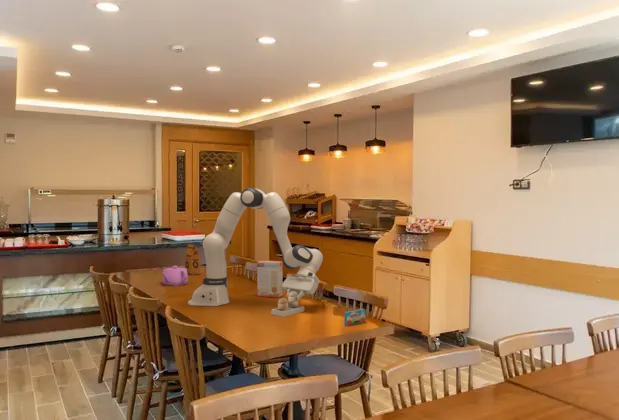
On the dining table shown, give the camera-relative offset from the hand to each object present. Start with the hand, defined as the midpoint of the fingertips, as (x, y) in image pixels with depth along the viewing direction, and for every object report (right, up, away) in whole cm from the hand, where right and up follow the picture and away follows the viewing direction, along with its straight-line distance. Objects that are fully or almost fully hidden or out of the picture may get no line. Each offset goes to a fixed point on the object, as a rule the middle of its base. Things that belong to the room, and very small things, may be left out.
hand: (292, 298), depth 259 cm
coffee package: (-79, -4, +126) cm, 149 cm away
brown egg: (-4, -7, -5) cm, 10 cm away
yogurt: (+30, -9, -21) cm, 38 cm away
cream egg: (0, -5, +1) cm, 5 cm away
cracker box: (-15, -6, +42) cm, 45 cm away
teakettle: (-82, -5, +82) cm, 116 cm away
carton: (-2, -8, -2) cm, 8 cm away
